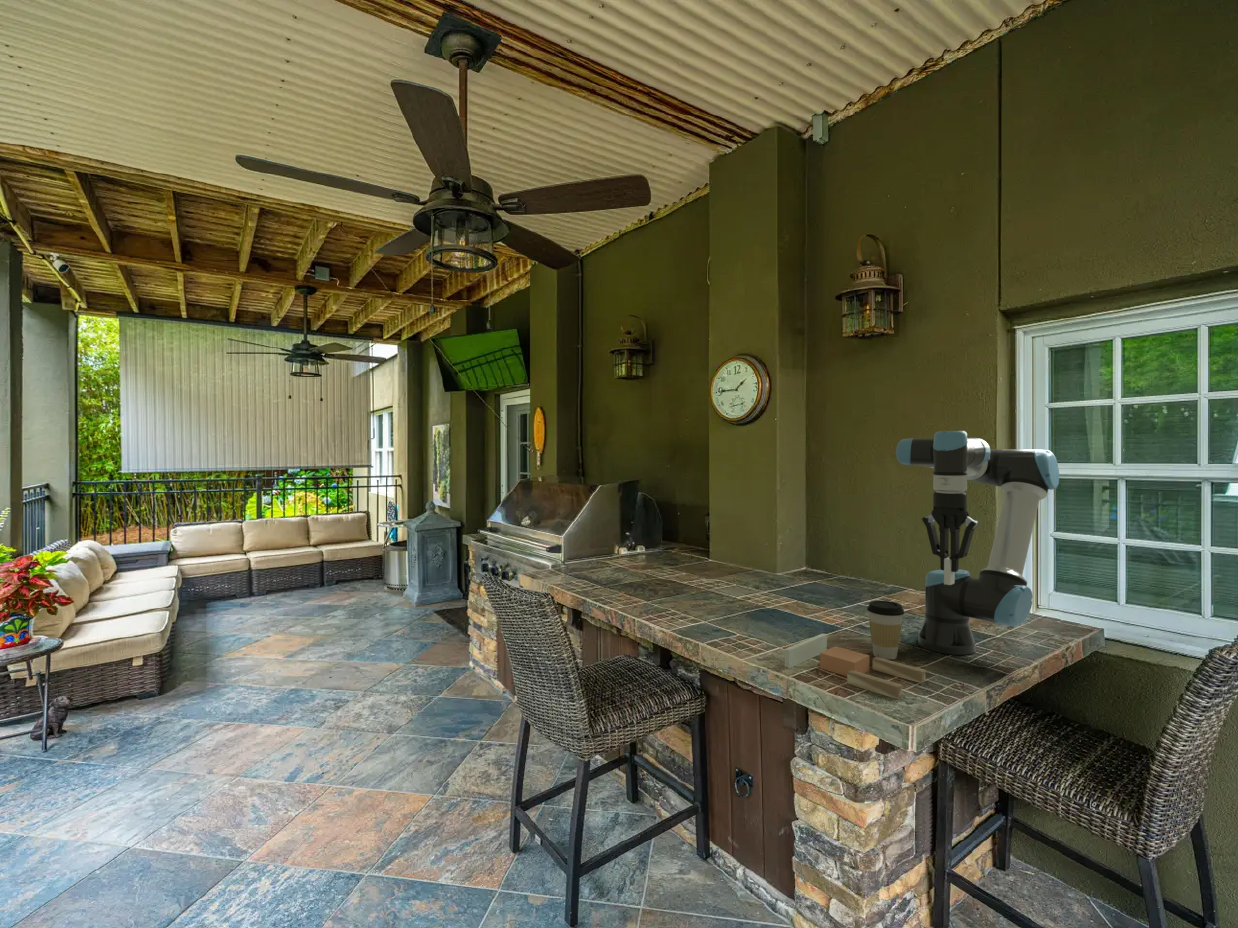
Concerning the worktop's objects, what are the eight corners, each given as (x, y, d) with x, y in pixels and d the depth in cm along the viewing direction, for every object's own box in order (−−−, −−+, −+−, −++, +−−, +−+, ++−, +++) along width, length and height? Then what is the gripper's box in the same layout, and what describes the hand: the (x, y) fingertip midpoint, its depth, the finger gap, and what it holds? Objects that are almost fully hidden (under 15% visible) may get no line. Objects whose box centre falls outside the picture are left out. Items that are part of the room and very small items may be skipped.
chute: (875, 667, 165) (876, 656, 165) (925, 681, 155) (925, 669, 155) (847, 683, 155) (847, 671, 154) (898, 699, 145) (898, 687, 145)
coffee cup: (893, 649, 179) (893, 599, 179) (910, 661, 170) (911, 608, 169) (860, 649, 179) (861, 600, 179) (876, 662, 169) (876, 609, 169)
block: (834, 661, 171) (835, 646, 170) (869, 671, 163) (869, 655, 163) (819, 668, 165) (820, 652, 165) (854, 679, 158) (854, 662, 158)
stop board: (822, 649, 179) (822, 633, 179) (826, 651, 178) (826, 634, 178) (784, 666, 166) (784, 649, 166) (789, 668, 165) (789, 650, 165)
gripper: (917, 491, 155) (916, 581, 156) (972, 494, 145) (971, 591, 146) (929, 489, 160) (929, 577, 161) (983, 492, 150) (983, 585, 151)
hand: (949, 583), depth 153 cm, fingers closed
